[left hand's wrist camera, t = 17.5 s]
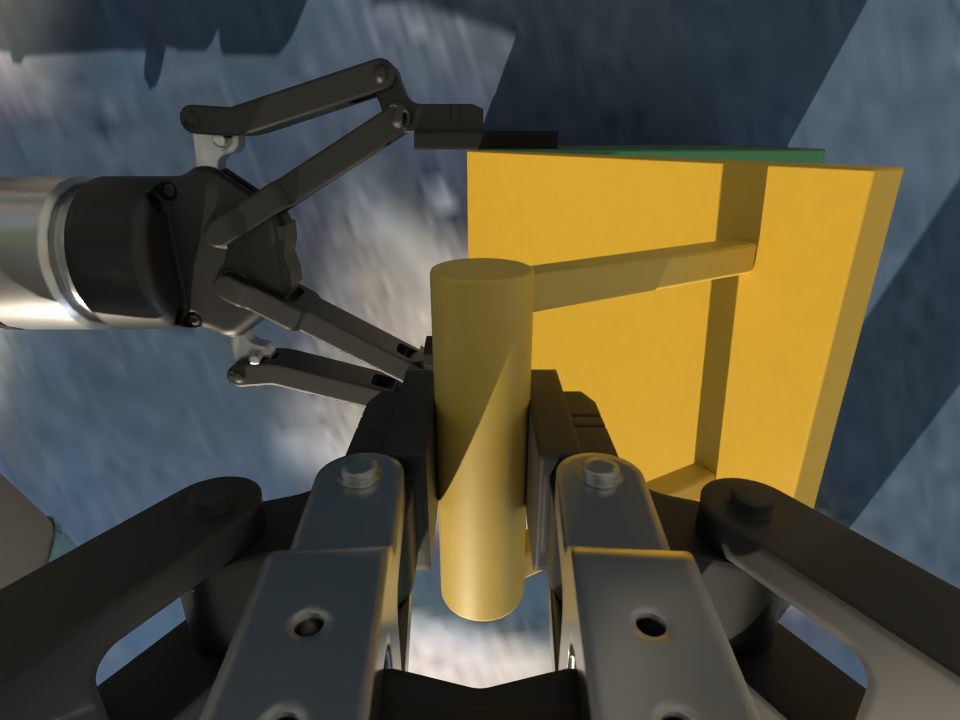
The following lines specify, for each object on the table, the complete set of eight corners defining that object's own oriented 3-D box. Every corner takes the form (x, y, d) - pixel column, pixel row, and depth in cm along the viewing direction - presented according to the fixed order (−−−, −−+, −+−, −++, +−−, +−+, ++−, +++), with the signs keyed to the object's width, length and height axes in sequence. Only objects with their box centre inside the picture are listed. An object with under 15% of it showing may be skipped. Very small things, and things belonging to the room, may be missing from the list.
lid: (905, 166, 11) (518, 188, 7) (796, 576, 14) (505, 753, 10) (489, 150, 23) (265, 153, 19) (488, 372, 27) (301, 416, 23)
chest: (723, 144, 33) (826, 148, 24) (699, 307, 37) (780, 367, 27) (475, 145, 33) (477, 149, 23) (476, 309, 37) (478, 370, 27)
